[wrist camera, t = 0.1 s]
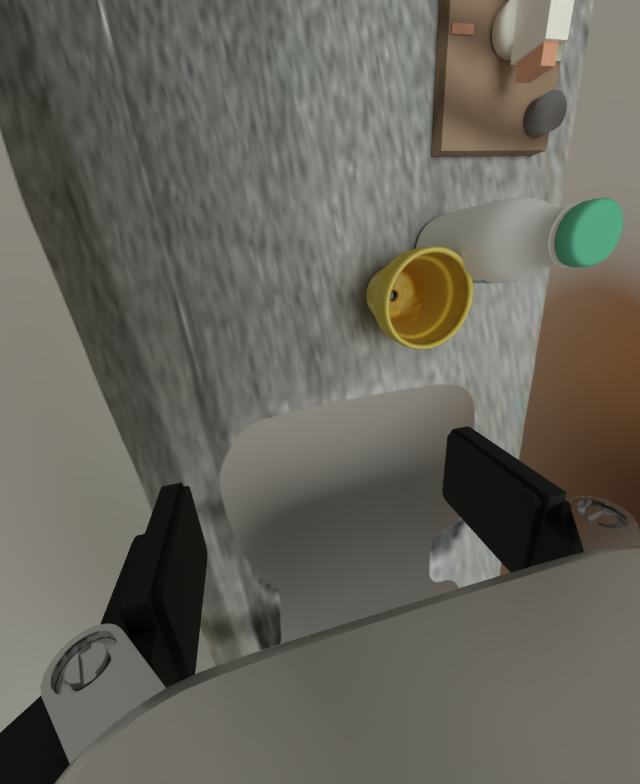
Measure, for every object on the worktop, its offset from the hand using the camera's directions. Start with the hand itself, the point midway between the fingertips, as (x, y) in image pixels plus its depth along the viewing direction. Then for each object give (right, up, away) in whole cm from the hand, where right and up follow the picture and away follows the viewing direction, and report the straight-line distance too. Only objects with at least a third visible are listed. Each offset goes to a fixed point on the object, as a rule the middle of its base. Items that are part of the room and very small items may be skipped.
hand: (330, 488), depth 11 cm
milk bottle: (+15, +22, +30) cm, 40 cm away
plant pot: (+9, +16, +31) cm, 36 cm away
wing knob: (+19, +40, +21) cm, 50 cm away
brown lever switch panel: (+19, +41, +23) cm, 51 cm away
